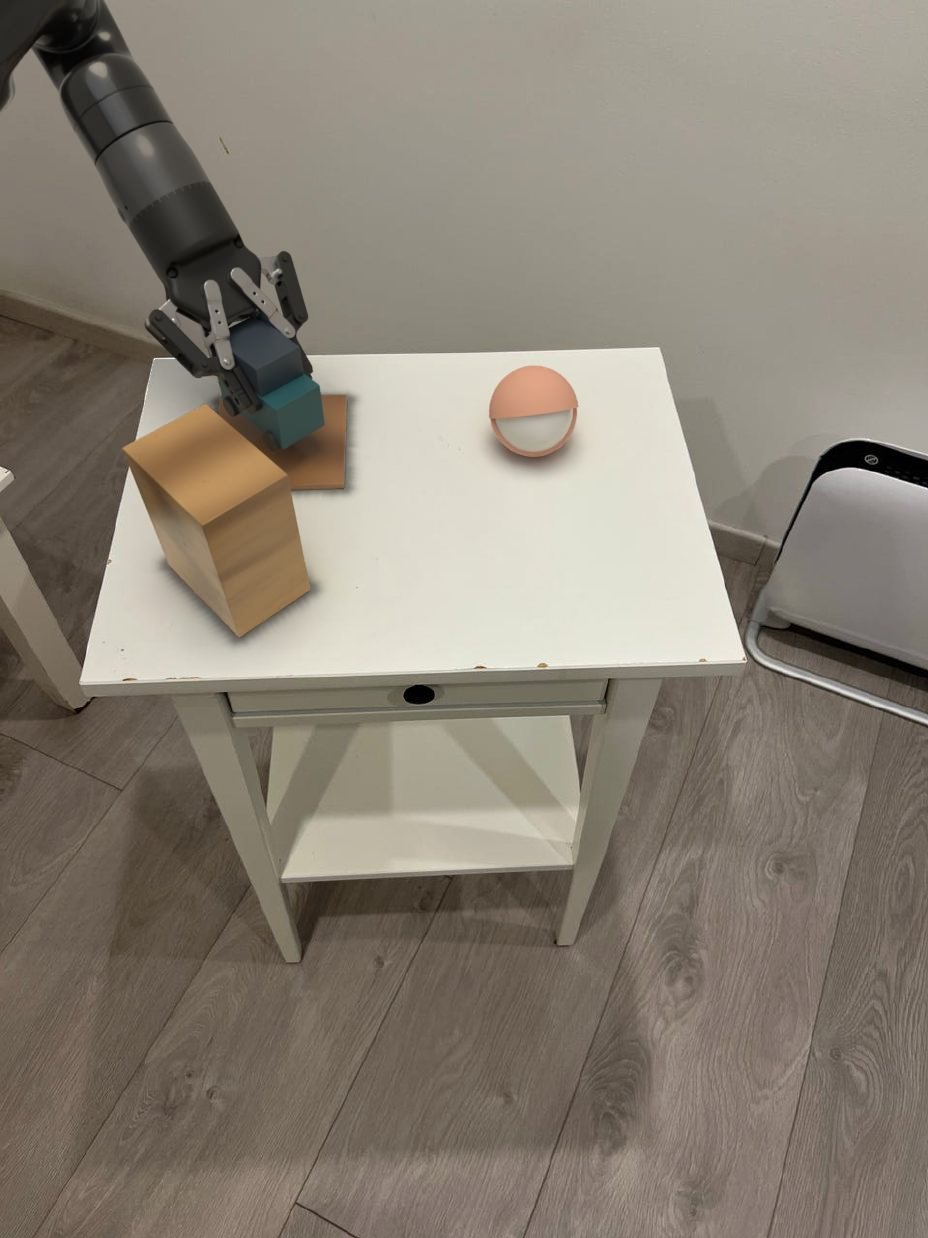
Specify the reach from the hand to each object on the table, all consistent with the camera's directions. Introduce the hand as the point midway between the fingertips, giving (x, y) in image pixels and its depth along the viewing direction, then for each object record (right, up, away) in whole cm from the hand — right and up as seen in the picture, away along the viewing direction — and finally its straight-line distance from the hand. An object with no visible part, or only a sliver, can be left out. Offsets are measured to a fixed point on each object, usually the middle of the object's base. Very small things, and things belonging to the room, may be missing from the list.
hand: (281, 396), depth 74 cm
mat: (-1, -3, +6) cm, 7 cm away
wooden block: (-3, -16, -3) cm, 16 cm away
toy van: (-1, -1, +4) cm, 4 cm away
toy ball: (+22, -3, +7) cm, 23 cm away
